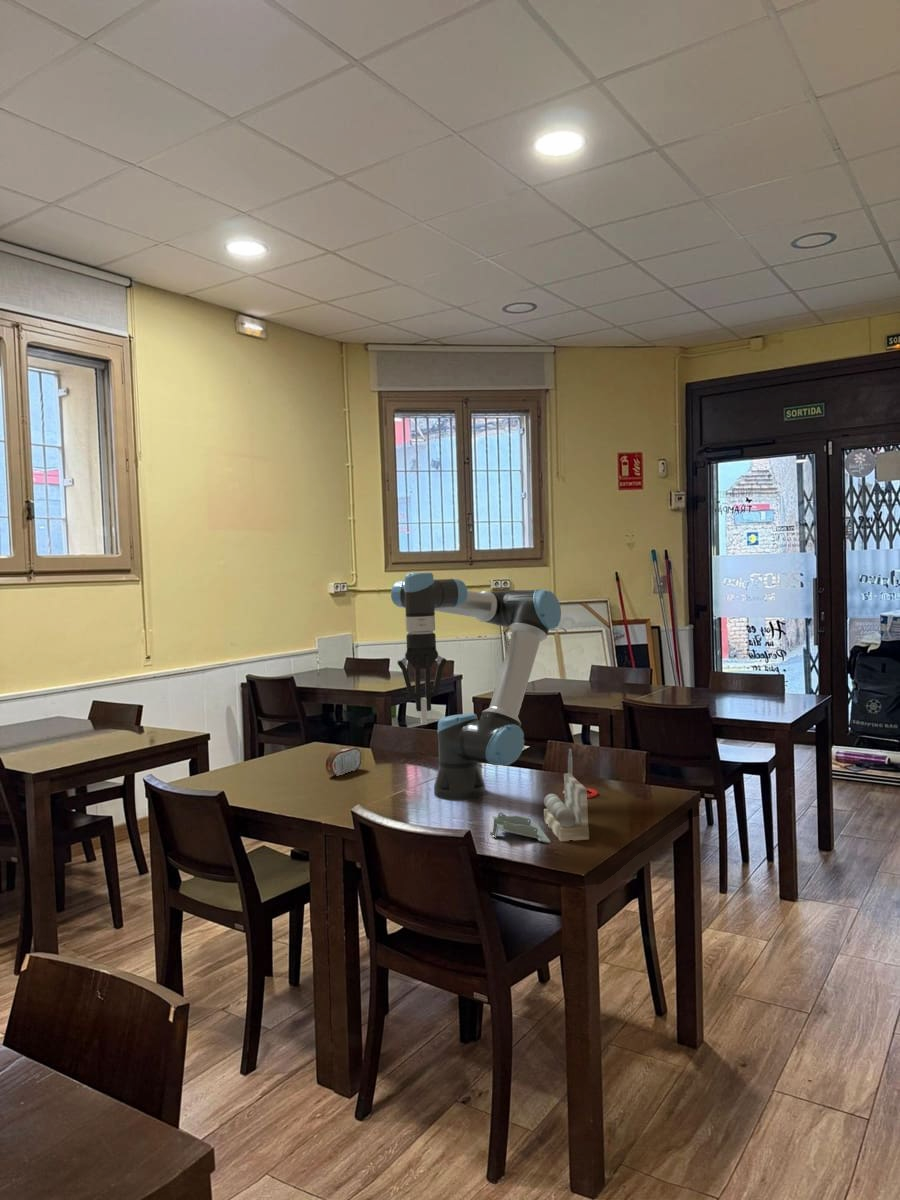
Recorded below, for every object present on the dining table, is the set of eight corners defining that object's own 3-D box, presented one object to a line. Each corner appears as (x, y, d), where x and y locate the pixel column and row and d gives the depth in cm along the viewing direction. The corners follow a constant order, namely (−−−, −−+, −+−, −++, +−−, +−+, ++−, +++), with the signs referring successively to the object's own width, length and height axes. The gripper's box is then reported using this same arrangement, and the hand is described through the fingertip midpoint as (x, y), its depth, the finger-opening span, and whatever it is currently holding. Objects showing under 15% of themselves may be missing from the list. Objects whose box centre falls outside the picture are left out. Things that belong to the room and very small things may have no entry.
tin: (356, 768, 278) (355, 743, 278) (363, 769, 276) (362, 744, 276) (325, 778, 266) (324, 752, 266) (332, 779, 264) (331, 753, 264)
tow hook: (602, 795, 237) (575, 789, 243) (603, 751, 236) (575, 746, 242) (587, 802, 230) (559, 795, 236) (588, 756, 229) (560, 751, 235)
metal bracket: (500, 824, 194) (489, 806, 209) (494, 848, 194) (483, 828, 209) (557, 836, 196) (542, 817, 211) (551, 860, 196) (537, 839, 211)
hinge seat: (544, 820, 213) (542, 774, 213) (570, 818, 214) (569, 772, 214) (560, 841, 196) (558, 791, 196) (589, 839, 197) (587, 789, 197)
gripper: (396, 634, 207) (399, 727, 208) (447, 632, 208) (450, 724, 209) (394, 632, 214) (398, 722, 215) (444, 630, 216) (447, 719, 217)
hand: (424, 723), depth 212 cm, fingers closed
